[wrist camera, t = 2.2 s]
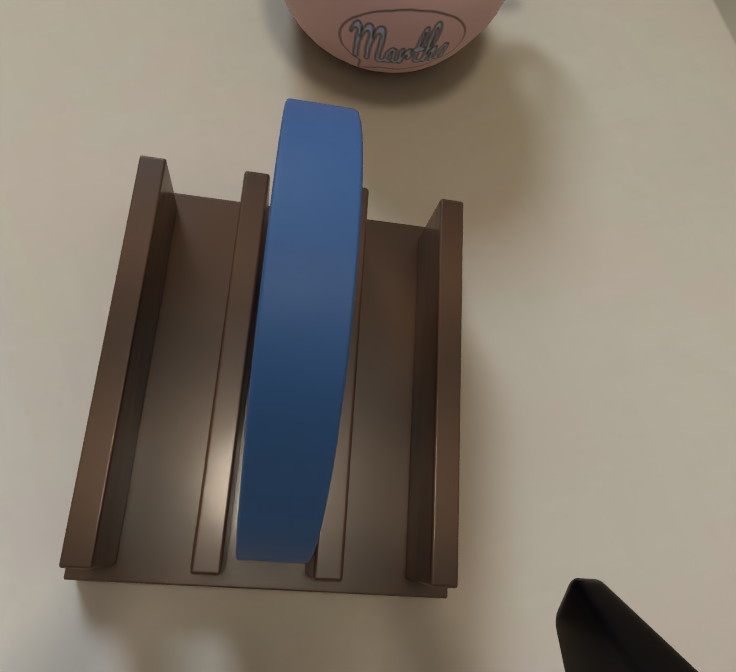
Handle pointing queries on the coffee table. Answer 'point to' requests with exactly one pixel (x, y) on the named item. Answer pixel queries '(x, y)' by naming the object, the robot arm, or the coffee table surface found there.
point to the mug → (393, 29)
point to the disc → (301, 333)
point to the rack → (230, 402)
